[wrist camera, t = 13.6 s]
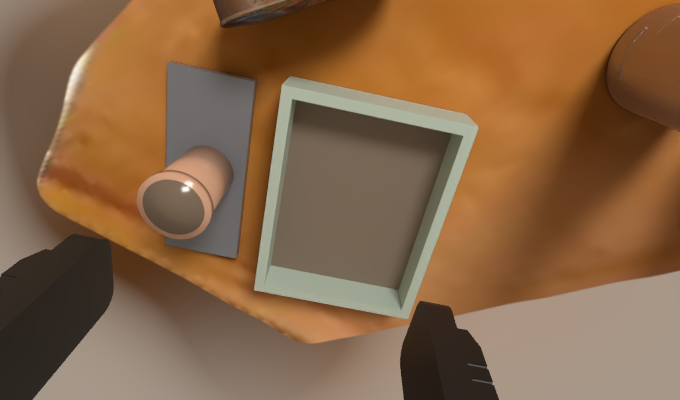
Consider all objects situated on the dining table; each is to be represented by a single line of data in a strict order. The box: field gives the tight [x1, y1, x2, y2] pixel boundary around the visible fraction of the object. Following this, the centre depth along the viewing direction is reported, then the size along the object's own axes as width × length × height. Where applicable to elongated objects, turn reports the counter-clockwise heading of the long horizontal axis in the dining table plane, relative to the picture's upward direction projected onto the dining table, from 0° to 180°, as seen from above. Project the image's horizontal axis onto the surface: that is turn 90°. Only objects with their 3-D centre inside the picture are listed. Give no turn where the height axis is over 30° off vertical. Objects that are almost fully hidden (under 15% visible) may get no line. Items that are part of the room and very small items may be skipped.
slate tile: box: [166, 61, 257, 259], centre depth 41 cm, size 8×20×1 cm, turn 168°
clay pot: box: [137, 146, 234, 239], centre depth 37 cm, size 6×6×8 cm
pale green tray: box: [254, 76, 479, 319], centre depth 40 cm, size 17×22×4 cm
